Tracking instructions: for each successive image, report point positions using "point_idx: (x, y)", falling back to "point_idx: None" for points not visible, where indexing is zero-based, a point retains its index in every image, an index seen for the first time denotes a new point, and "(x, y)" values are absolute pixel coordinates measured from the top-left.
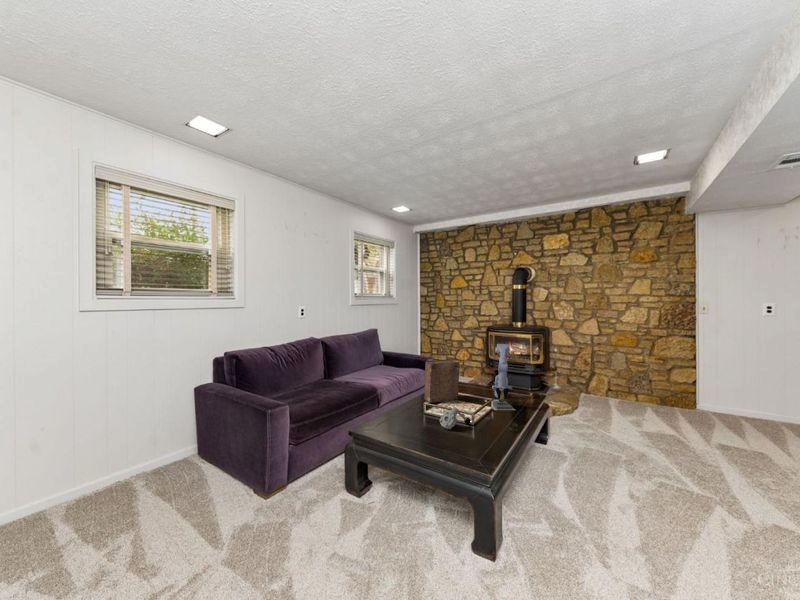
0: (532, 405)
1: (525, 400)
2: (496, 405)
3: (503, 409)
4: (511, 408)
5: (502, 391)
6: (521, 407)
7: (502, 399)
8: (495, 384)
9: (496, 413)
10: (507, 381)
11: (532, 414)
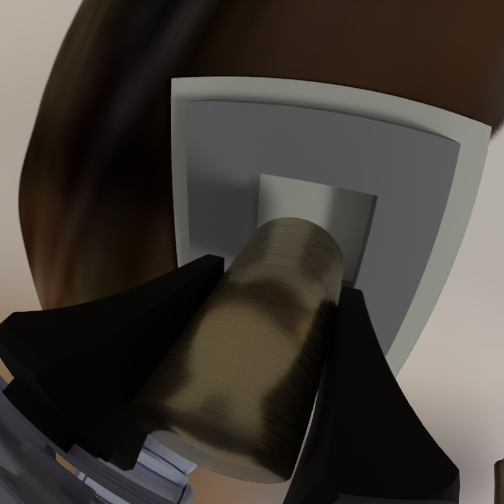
0: (34, 216)
1: (60, 301)
2: (432, 195)
3: (343, 106)
4: (210, 99)
5: (211, 417)
6: (93, 185)
7: (289, 245)
8: (189, 499)
9: (496, 44)
10: (78, 471)
11: (78, 11)
